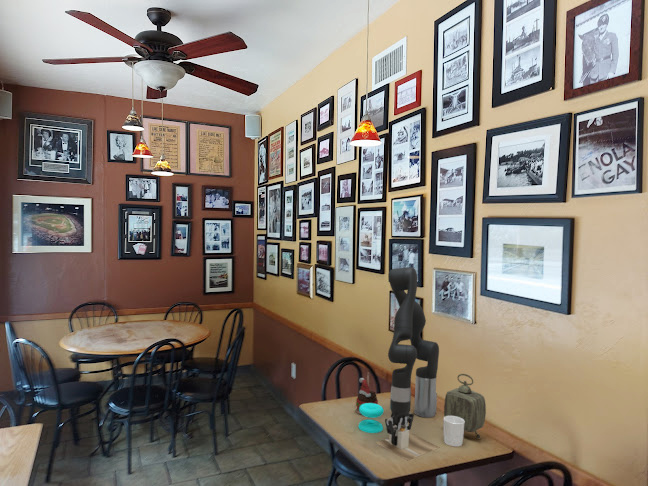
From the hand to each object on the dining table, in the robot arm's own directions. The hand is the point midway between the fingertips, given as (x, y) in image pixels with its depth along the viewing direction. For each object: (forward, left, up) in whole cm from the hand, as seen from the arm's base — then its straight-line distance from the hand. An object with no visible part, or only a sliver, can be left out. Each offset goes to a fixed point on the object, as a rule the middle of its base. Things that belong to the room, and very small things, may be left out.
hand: (398, 443), depth 165 cm
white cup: (-20, +10, -2) cm, 22 cm away
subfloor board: (-3, +2, -2) cm, 4 cm away
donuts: (-2, -17, -2) cm, 17 cm away
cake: (-14, -32, -2) cm, 35 cm away
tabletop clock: (-31, +7, -2) cm, 31 cm away
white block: (0, 0, -1) cm, 1 cm away
